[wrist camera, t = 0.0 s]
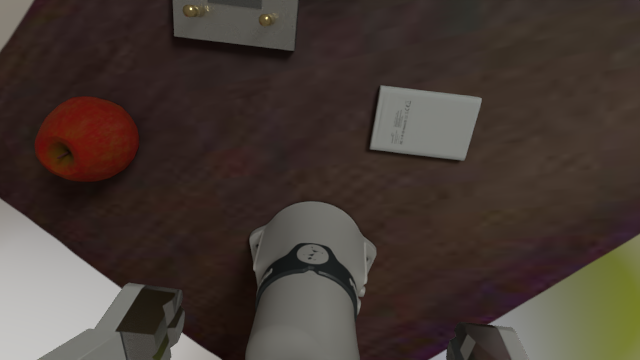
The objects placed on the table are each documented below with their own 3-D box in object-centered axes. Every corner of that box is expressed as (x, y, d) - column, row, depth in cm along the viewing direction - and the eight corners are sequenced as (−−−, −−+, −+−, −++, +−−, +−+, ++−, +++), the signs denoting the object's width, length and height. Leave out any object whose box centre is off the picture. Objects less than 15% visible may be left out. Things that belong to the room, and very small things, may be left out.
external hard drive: (460, 157, 50) (368, 146, 50) (477, 96, 47) (379, 84, 47) (464, 161, 49) (369, 150, 49) (482, 98, 45) (381, 86, 45)
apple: (89, 170, 53) (34, 204, 43) (57, 97, 49) (-12, 117, 39) (157, 160, 52) (116, 193, 42) (130, 85, 48) (78, 102, 38)
